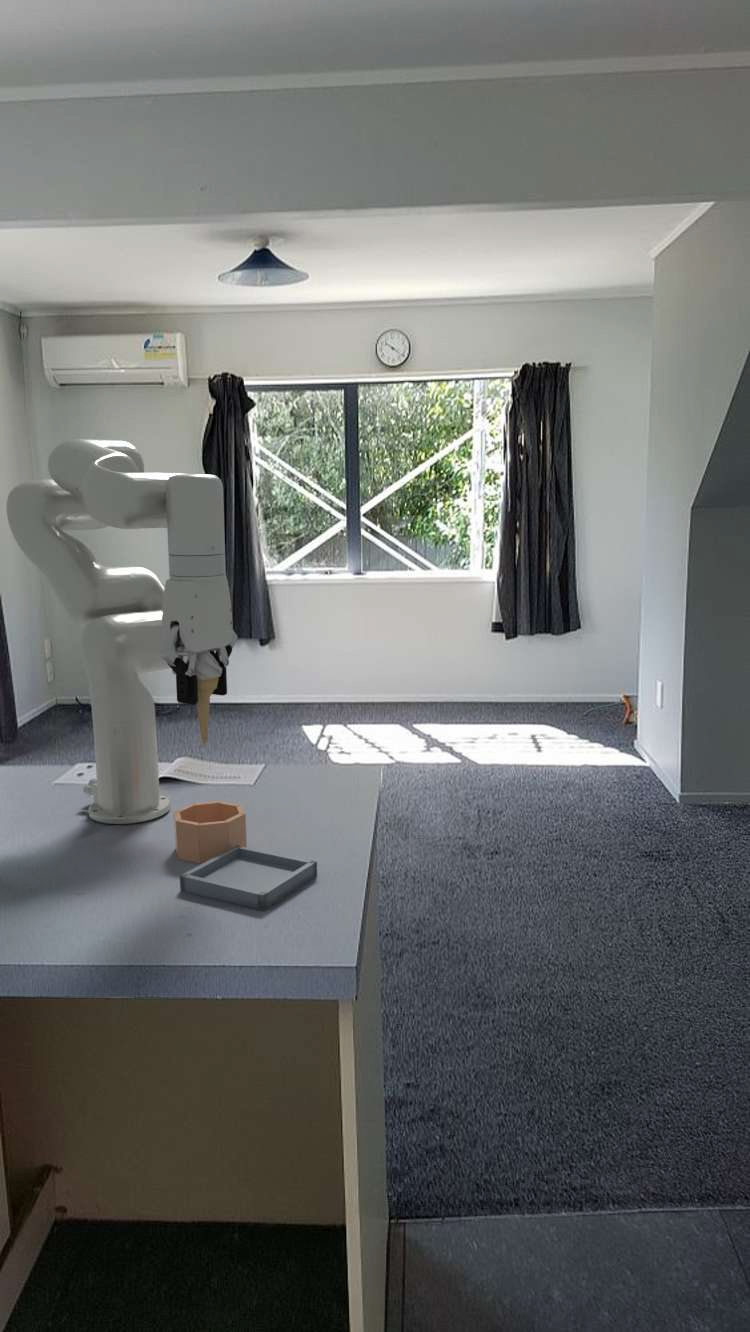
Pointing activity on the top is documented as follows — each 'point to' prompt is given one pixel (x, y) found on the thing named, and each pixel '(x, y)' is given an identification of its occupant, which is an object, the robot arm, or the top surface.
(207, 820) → the holder cup
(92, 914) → the top surface
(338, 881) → the top surface
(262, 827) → the top surface
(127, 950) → the top surface
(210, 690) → the ice cream cone
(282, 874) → the slate tray
